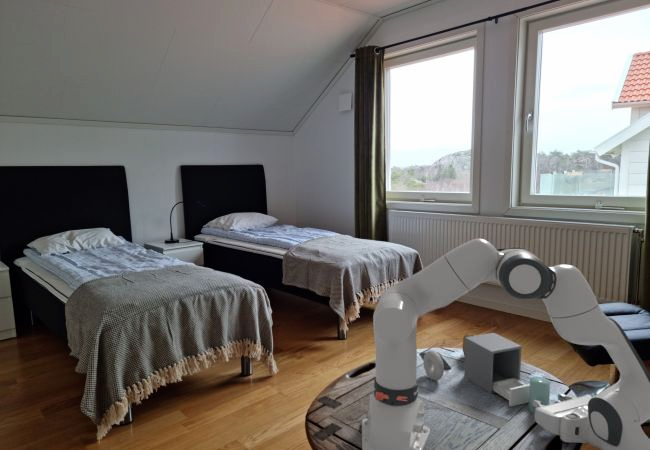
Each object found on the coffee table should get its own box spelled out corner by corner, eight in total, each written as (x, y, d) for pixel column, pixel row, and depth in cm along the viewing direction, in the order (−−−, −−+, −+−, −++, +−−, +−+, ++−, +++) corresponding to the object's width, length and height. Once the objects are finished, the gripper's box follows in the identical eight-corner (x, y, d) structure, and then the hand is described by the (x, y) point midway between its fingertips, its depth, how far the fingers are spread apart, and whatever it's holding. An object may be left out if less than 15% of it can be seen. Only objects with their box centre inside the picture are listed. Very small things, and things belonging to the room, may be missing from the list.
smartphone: (437, 353, 178) (437, 351, 178) (451, 370, 163) (451, 368, 163) (418, 354, 177) (418, 352, 177) (431, 371, 162) (431, 369, 162)
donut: (445, 384, 152) (446, 356, 150) (436, 386, 150) (437, 357, 149) (429, 372, 161) (430, 345, 160) (421, 373, 160) (421, 346, 159)
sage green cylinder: (550, 417, 132) (552, 386, 130) (530, 414, 133) (531, 383, 132) (546, 407, 137) (548, 377, 135) (527, 405, 138) (528, 375, 137)
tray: (541, 399, 141) (542, 382, 141) (510, 406, 137) (511, 389, 136) (513, 382, 152) (514, 367, 151) (484, 388, 148) (484, 373, 147)
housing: (519, 386, 150) (521, 346, 148) (490, 393, 145) (491, 351, 144) (492, 370, 162) (493, 332, 160) (464, 376, 157) (465, 337, 156)
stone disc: (460, 354, 175) (460, 330, 174) (469, 354, 176) (470, 329, 174) (472, 366, 165) (472, 340, 164) (481, 365, 166) (482, 339, 164)
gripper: (619, 405, 122) (574, 382, 134) (561, 420, 114) (520, 395, 127) (617, 427, 122) (573, 402, 135) (560, 443, 115) (519, 416, 128)
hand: (547, 399), depth 131 cm, fingers open, 8 cm apart
